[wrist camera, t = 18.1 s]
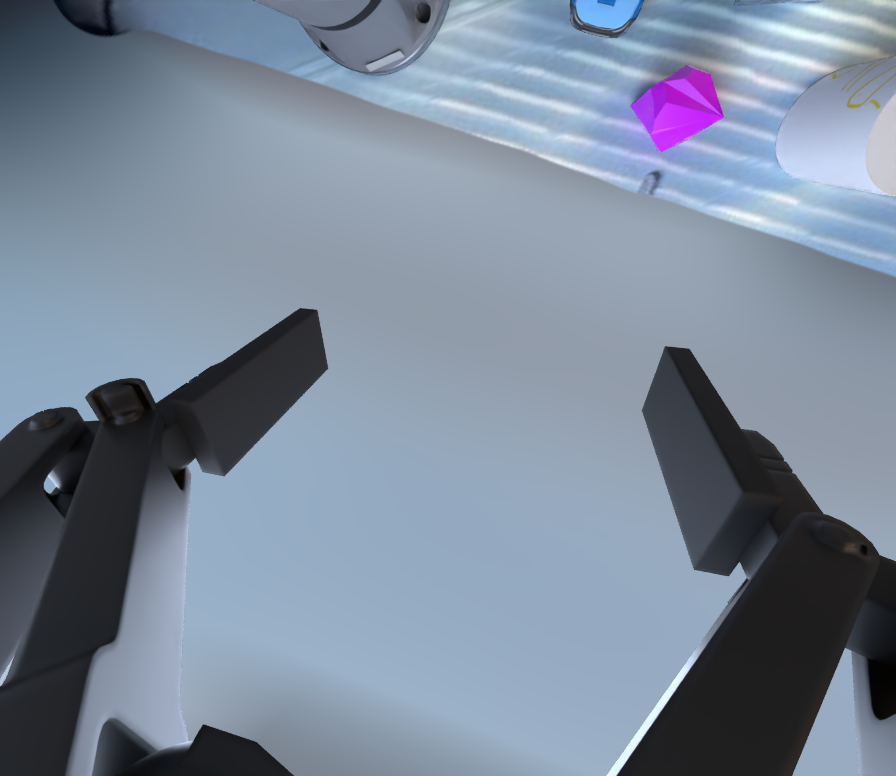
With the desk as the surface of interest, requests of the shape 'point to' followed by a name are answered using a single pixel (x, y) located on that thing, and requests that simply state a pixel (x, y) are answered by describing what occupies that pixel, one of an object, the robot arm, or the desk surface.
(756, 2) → the black-capped square tube
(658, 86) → the crystal
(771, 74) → the desk surface
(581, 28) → the toy car
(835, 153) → the cup
